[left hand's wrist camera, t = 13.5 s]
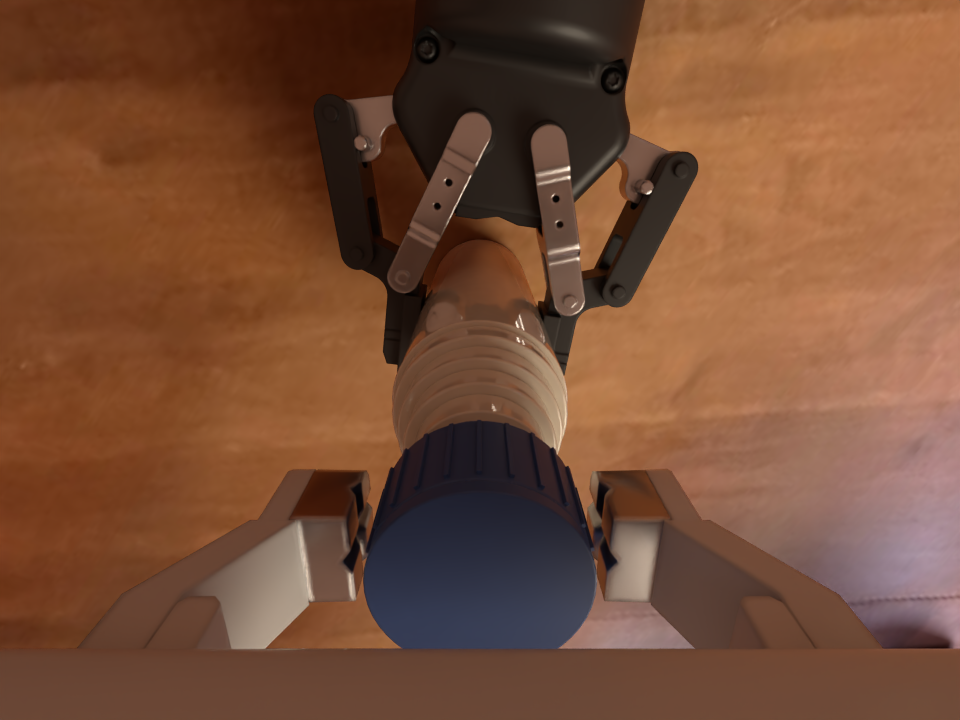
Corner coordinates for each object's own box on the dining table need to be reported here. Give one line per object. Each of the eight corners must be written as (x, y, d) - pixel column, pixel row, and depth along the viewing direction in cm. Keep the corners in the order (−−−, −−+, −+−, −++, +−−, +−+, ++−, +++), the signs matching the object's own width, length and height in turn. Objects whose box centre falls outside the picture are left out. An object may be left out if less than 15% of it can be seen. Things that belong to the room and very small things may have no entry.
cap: (354, 535, 11) (323, 628, 8) (433, 383, 9) (420, 448, 7) (518, 599, 11) (526, 701, 9) (612, 465, 10) (648, 546, 8)
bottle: (419, 304, 28) (291, 619, 9) (459, 222, 27) (404, 390, 7) (499, 343, 29) (536, 706, 10) (541, 265, 27) (687, 518, 8)
